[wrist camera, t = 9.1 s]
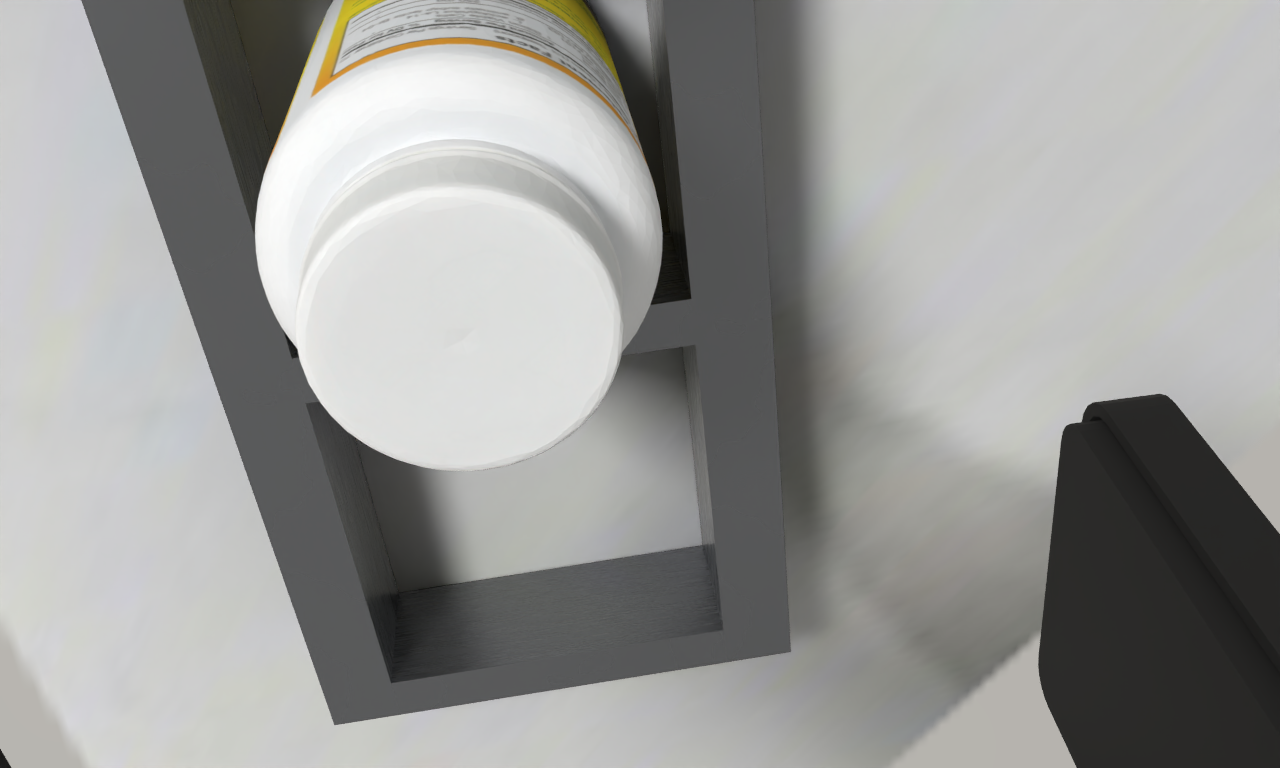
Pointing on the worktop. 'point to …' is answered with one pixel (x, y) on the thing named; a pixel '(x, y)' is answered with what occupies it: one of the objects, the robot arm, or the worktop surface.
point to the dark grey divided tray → (327, 454)
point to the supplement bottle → (459, 226)
